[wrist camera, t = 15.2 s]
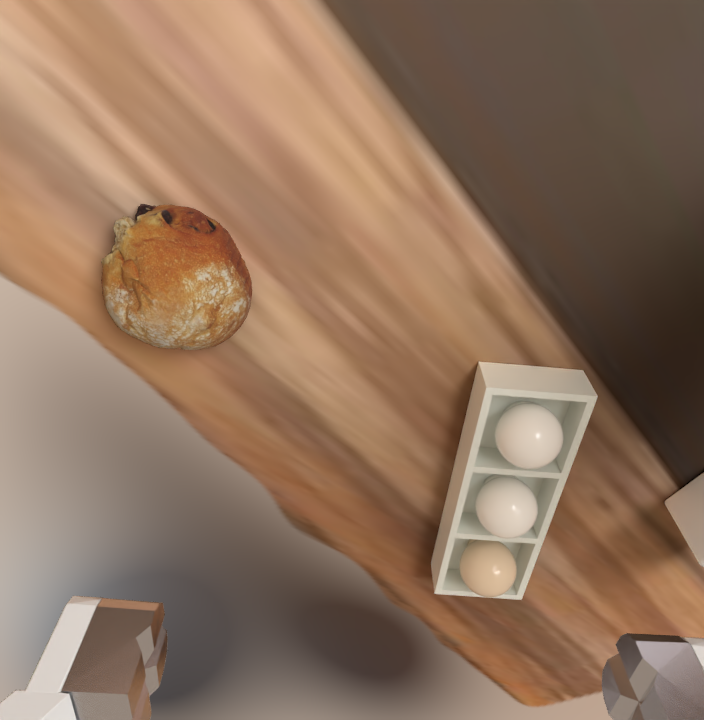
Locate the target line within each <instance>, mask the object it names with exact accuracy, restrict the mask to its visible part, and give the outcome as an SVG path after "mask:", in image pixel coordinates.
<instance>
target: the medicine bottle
mask: <svg viewBox="0 0 704 720" xmlns="http://www.w3.org/2000/svg"><path fill="white" fill-rule="evenodd" d="M665 505H666V507H667V509H668V511H669V512H670V514H671V516H672V518H673V519H674V521H675V523H676V524H677V526H678V528H679V530H680V531H681V533H682V535H683V537H684V538H685V540H686V542H687V544H688V545H689V547H690V549H691V550H692V552H693V554H694V556H695V557H696V559H697V561H698V563H699V564H700V565H701V566H703V567H704V472H703V473H702V474H701V475H699V476H698V477H697V478H695V479H694V480H693V481H691V482H690V483H688V484H687V485H686V486H684V487H683V488H682V489H680V490H679V491H678V492H676V493H675V494H673V495H672V496H671V497H669V498H668V499H667V500H666V501H665Z"/></svg>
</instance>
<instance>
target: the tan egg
mask: <svg viewBox="0 0 704 720" xmlns="http://www.w3.org/2000/svg"><path fill="white" fill-rule="evenodd" d="M459 568H460V574H461V577H462V579H463V581H464V583H465V584H466V586H467V587H468V588H469V589H470V590H471V591H473V592H474V593H476V594H478V595H480V596H483V597H497V596H500V595H502V594H504V593H505V592H507V591H508V590H509V589H510V588H511V586H512V585H513V583H514V581H515V578H516V573H517V567H516V561H515V559H514V556H513V554H512V553H511V551H510V550H509V549H508V548H507V547H506V546H505V545H504V544H503V543H501V542H499V541H490V540H476V539H470V540H469V541H468V543H467V547H466V548H465V549H464V551H463V553H462V555H461V558H460V563H459Z"/></svg>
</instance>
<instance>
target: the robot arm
mask: <svg viewBox="0 0 704 720" xmlns="http://www.w3.org/2000/svg"><path fill="white" fill-rule="evenodd" d="M164 615H165V613H164V608H163V603H158V602H146V601H133V600H119V599H107V598H98V597H83V596H73V597H72V598H71V599H70V600H69V602H68V603H67V604H66V605H65V607H64V609H63V611H62V613H61V615H60V618H59V620H58V622H57V624H56V626H55V628H54V630H53V632H52V634H51V636H50V638H49V641H48V643H47V645H46V647H45V649H44V651H43V653H42V655H41V658H40V659H39V662H38V664H37V666H36V668H35V670H34V672H33V674H32V676H31V678H30V681H29V683H28V685H27V687H26V689H25V690H15V691H14V692H13V693H11V694H10V695H9V696H8V697H7V698H5V699H4V700H3V701H2V702H1V703H0V720H150V717H151V706H150V699H149V696H150V695H151V694H152V693H153V692H154V691H155V690H156V689H157V688H158V687H159V686H160V682H161V678H162V675H163V671H164V666H165V660H166V654H167V630H166V629H164V628H163V627H162V626H161V625H162V622H163V619H164ZM616 646H617V649H618V652H619V653H618V654H617V655H615V656H613V657H611V658H609V659H608V660H607V662H606V665H605V667H604V669H603V673H602V690H603V696H604V700H605V704H606V707H607V710H608V713H609V715H610V716H611V717H612V718H613V720H704V638H692V637H679V636H670V635H649V634H629V633H627V634H624V635H622V636H620V638H619V640H618V642H617V643H616Z"/></svg>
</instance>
